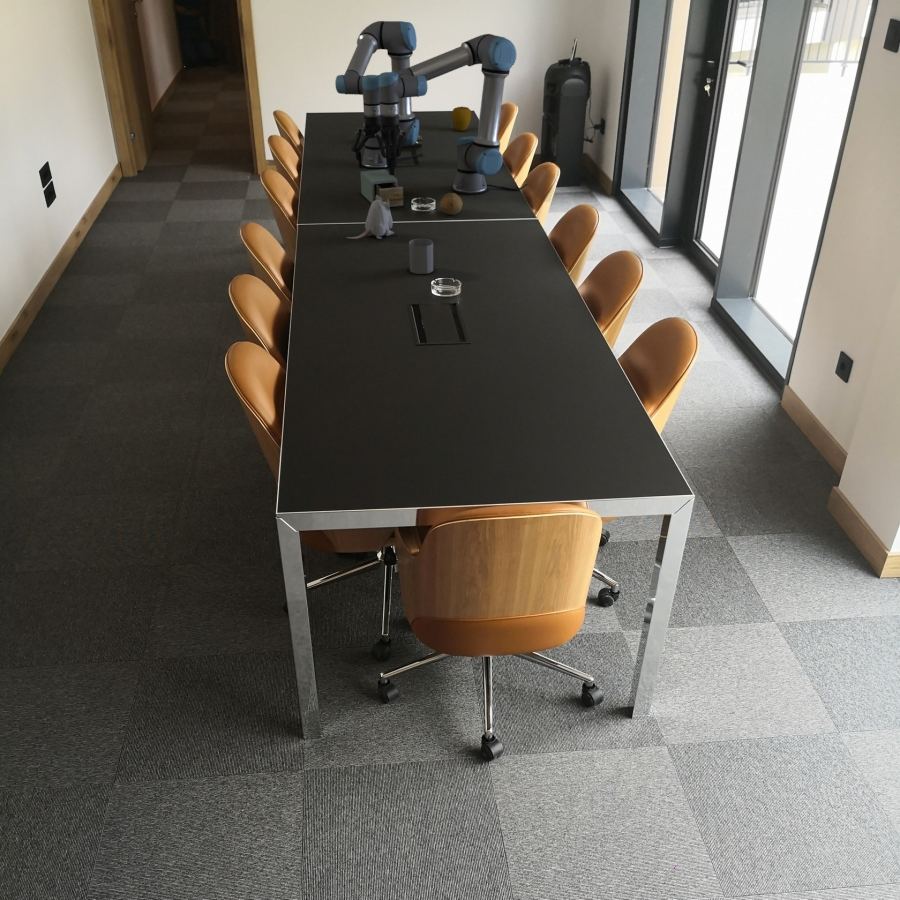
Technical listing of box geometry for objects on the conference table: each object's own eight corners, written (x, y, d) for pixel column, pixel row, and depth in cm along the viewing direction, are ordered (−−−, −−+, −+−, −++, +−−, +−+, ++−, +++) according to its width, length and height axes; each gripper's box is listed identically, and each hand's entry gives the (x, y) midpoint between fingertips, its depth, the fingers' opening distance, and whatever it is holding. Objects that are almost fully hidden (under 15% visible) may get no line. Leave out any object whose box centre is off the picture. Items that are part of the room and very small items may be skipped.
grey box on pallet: (398, 201, 377) (397, 179, 372) (372, 204, 373) (371, 181, 368) (385, 191, 390) (385, 169, 385) (361, 193, 387) (360, 171, 382)
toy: (399, 234, 340) (398, 196, 332) (354, 249, 326) (352, 209, 317) (384, 229, 345) (382, 191, 337) (338, 243, 331) (336, 204, 323)
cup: (409, 265, 311) (408, 238, 306) (432, 265, 312) (431, 238, 307) (410, 274, 304) (409, 246, 299) (433, 273, 305) (433, 246, 299)
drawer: (407, 208, 365) (406, 190, 361) (384, 211, 362) (383, 193, 358) (391, 195, 382) (391, 177, 378) (369, 197, 379) (368, 179, 374)
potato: (461, 208, 368) (461, 189, 364) (463, 218, 357) (464, 199, 352) (438, 208, 368) (438, 190, 364) (440, 219, 356) (440, 199, 352)
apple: (471, 132, 486) (471, 108, 479) (451, 132, 486) (451, 108, 479) (470, 128, 495) (471, 104, 488) (452, 128, 495) (452, 104, 488)
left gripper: (346, 119, 360) (350, 171, 372) (403, 114, 368) (405, 165, 380) (341, 115, 366) (345, 166, 378) (397, 110, 374) (399, 160, 386)
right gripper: (376, 117, 341) (379, 178, 354) (408, 115, 345) (409, 175, 358) (371, 114, 347) (374, 173, 360) (402, 111, 351) (403, 170, 364)
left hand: (375, 165), depth 379 cm, fingers open, 13 cm apart
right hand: (391, 174), depth 359 cm, fingers closed
